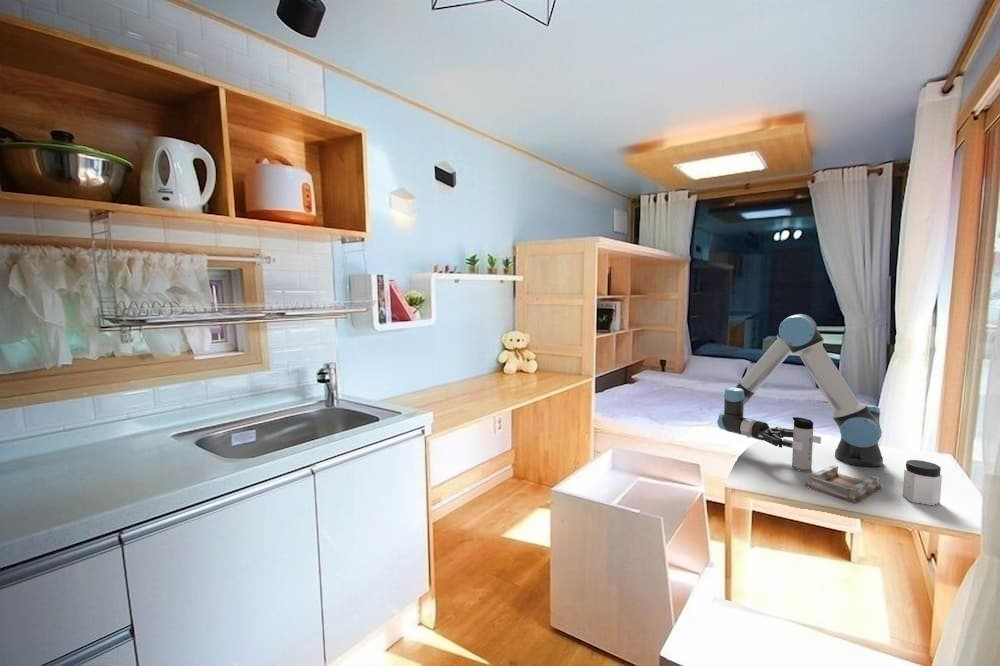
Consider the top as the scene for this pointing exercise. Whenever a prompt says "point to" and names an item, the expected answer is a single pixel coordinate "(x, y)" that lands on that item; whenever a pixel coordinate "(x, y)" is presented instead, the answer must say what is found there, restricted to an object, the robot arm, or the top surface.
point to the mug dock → (842, 485)
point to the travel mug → (805, 436)
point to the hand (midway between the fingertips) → (811, 443)
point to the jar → (922, 482)
